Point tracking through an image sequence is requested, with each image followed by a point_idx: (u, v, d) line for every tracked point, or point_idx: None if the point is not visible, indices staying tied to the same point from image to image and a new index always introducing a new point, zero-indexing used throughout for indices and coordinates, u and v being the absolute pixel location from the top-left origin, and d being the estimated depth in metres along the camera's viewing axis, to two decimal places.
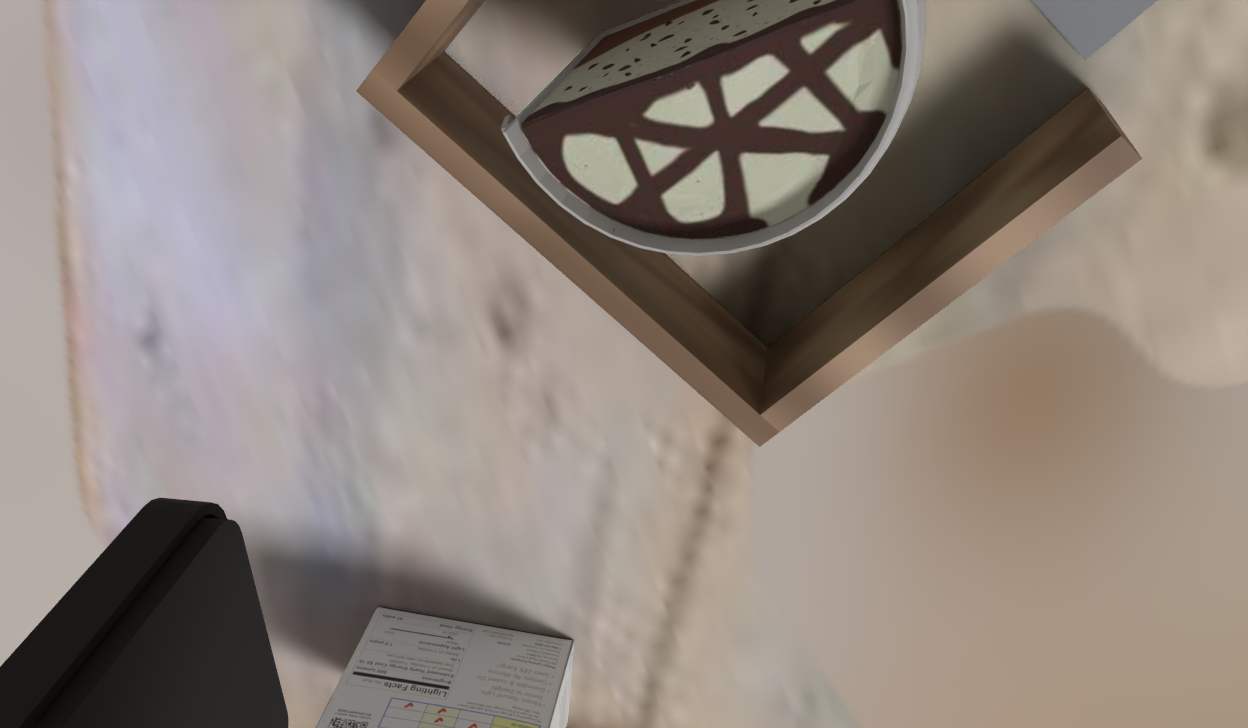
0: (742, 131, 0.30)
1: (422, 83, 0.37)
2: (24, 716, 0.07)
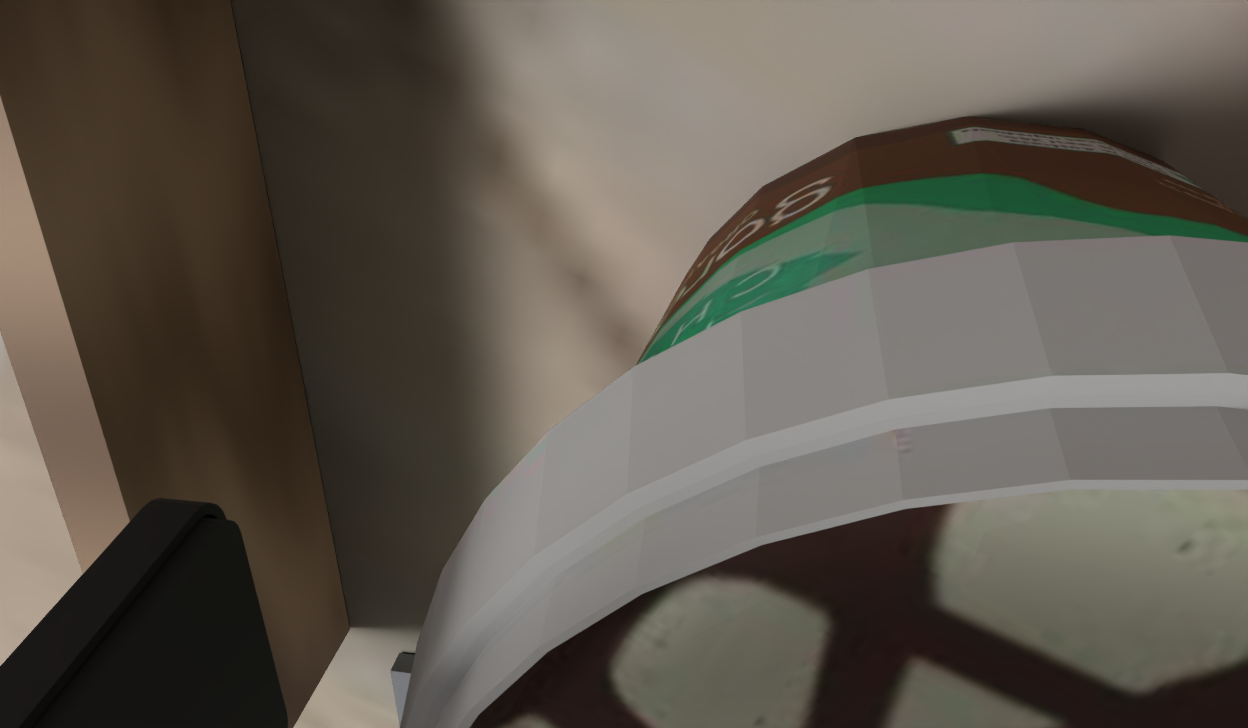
0: None
1: None
2: (23, 717, 0.07)
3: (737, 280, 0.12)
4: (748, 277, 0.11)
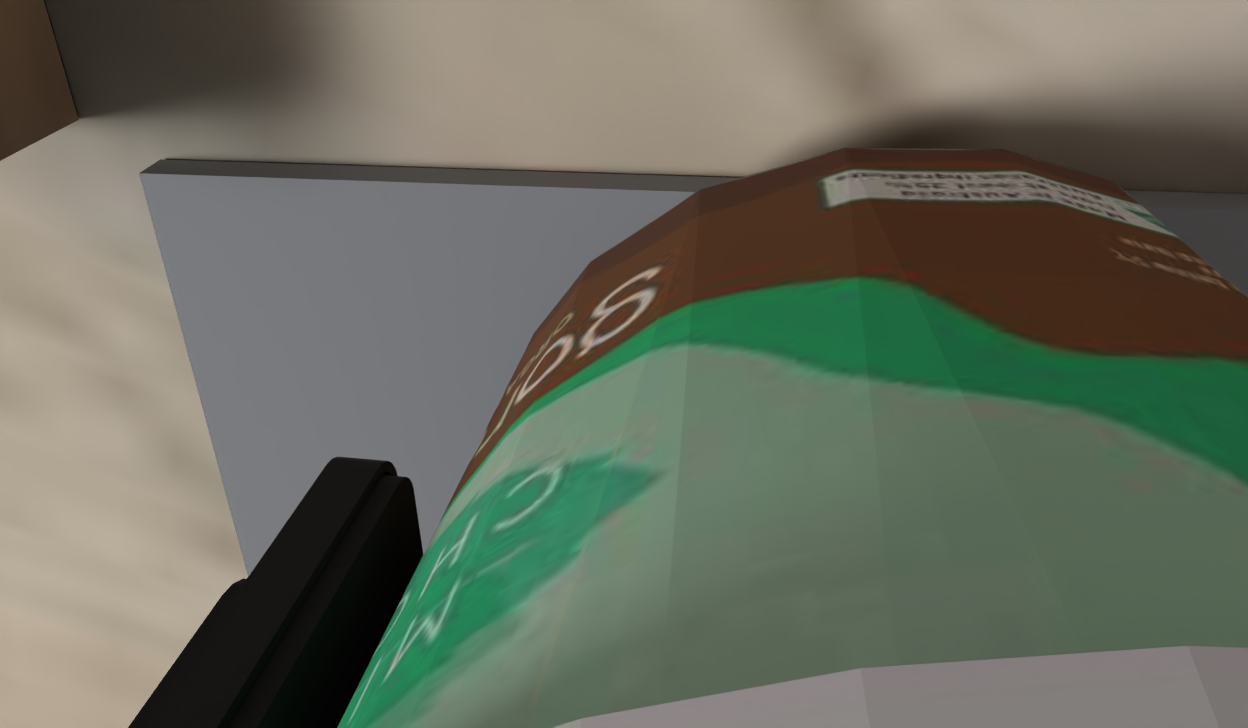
0: None
1: None
2: (260, 649, 0.08)
3: (511, 482, 0.08)
4: (523, 481, 0.08)
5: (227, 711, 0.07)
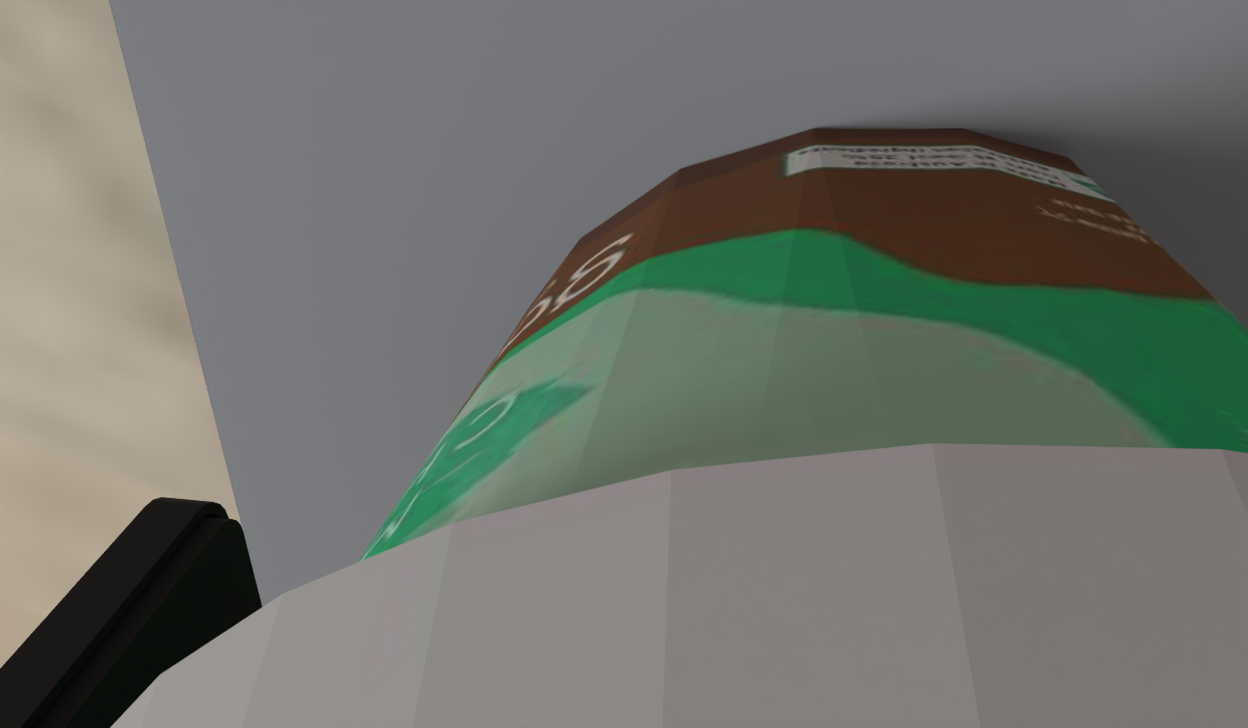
0: None
1: None
2: (26, 716, 0.07)
3: (476, 413, 0.08)
4: (485, 411, 0.08)
5: None
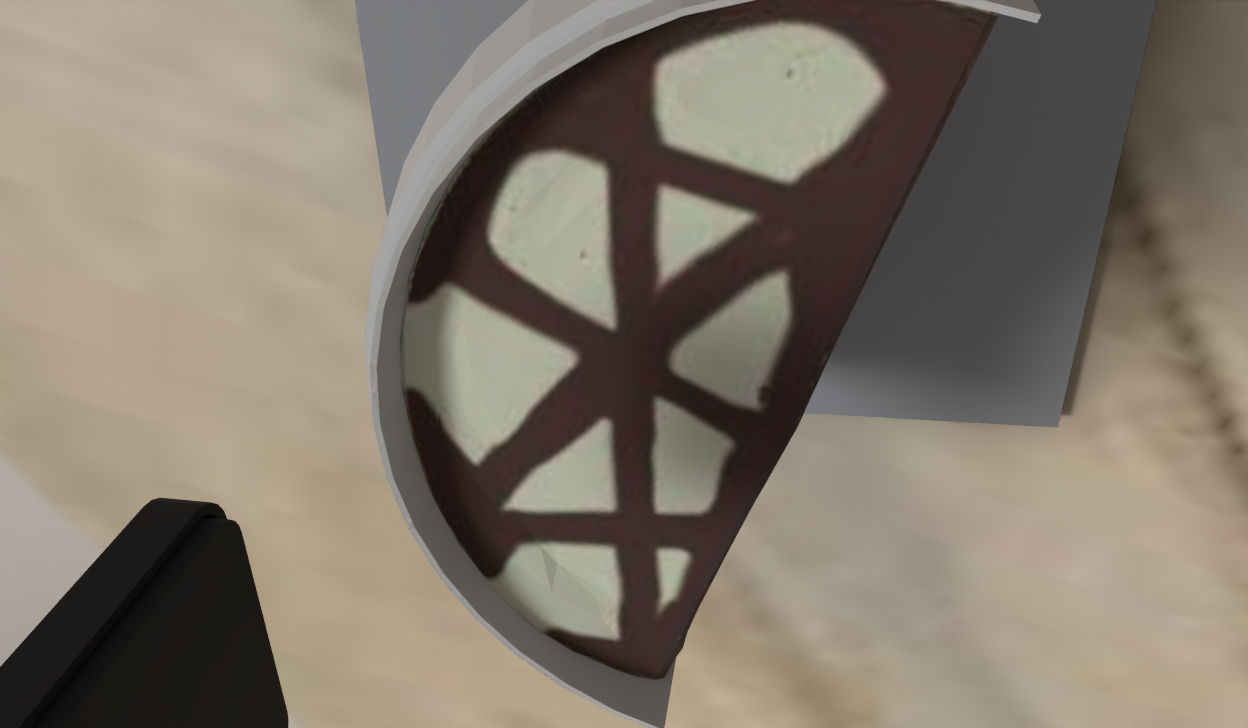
0: (615, 389, 0.14)
1: None
2: (24, 716, 0.07)
3: None
4: None
5: None
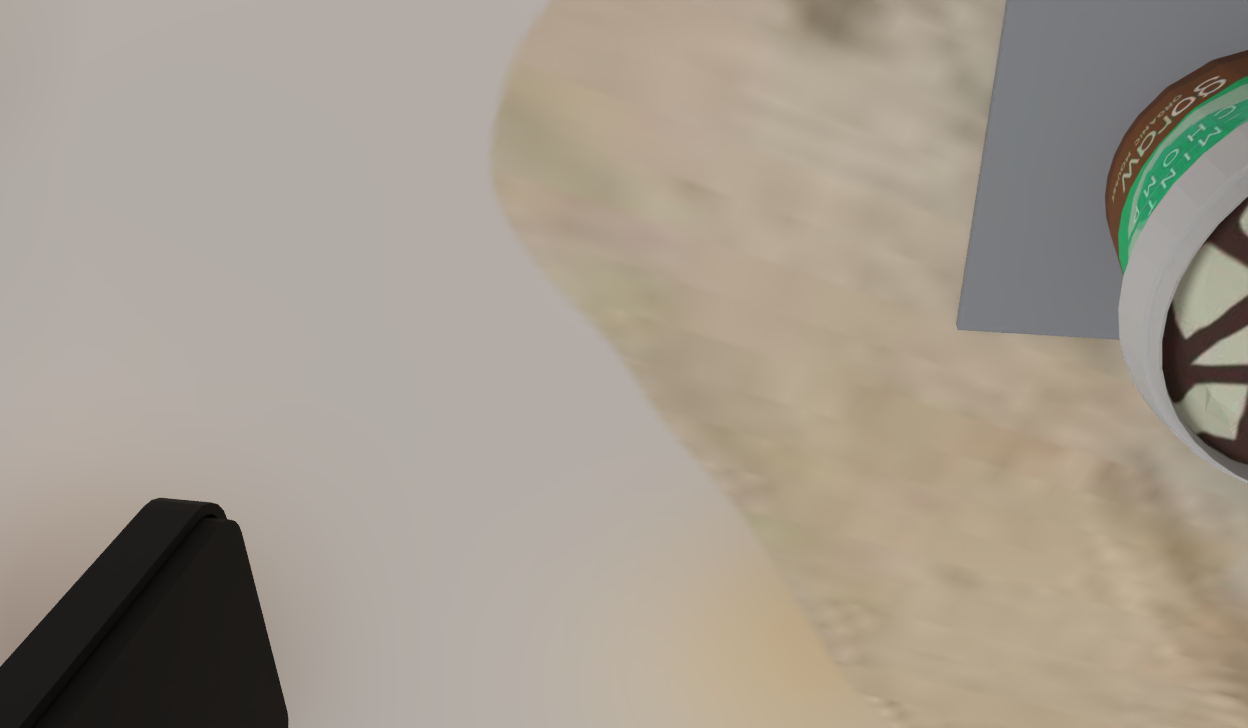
0: None
1: None
2: (24, 717, 0.07)
3: (1211, 114, 0.31)
4: (1218, 112, 0.30)
5: None
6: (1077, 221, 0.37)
